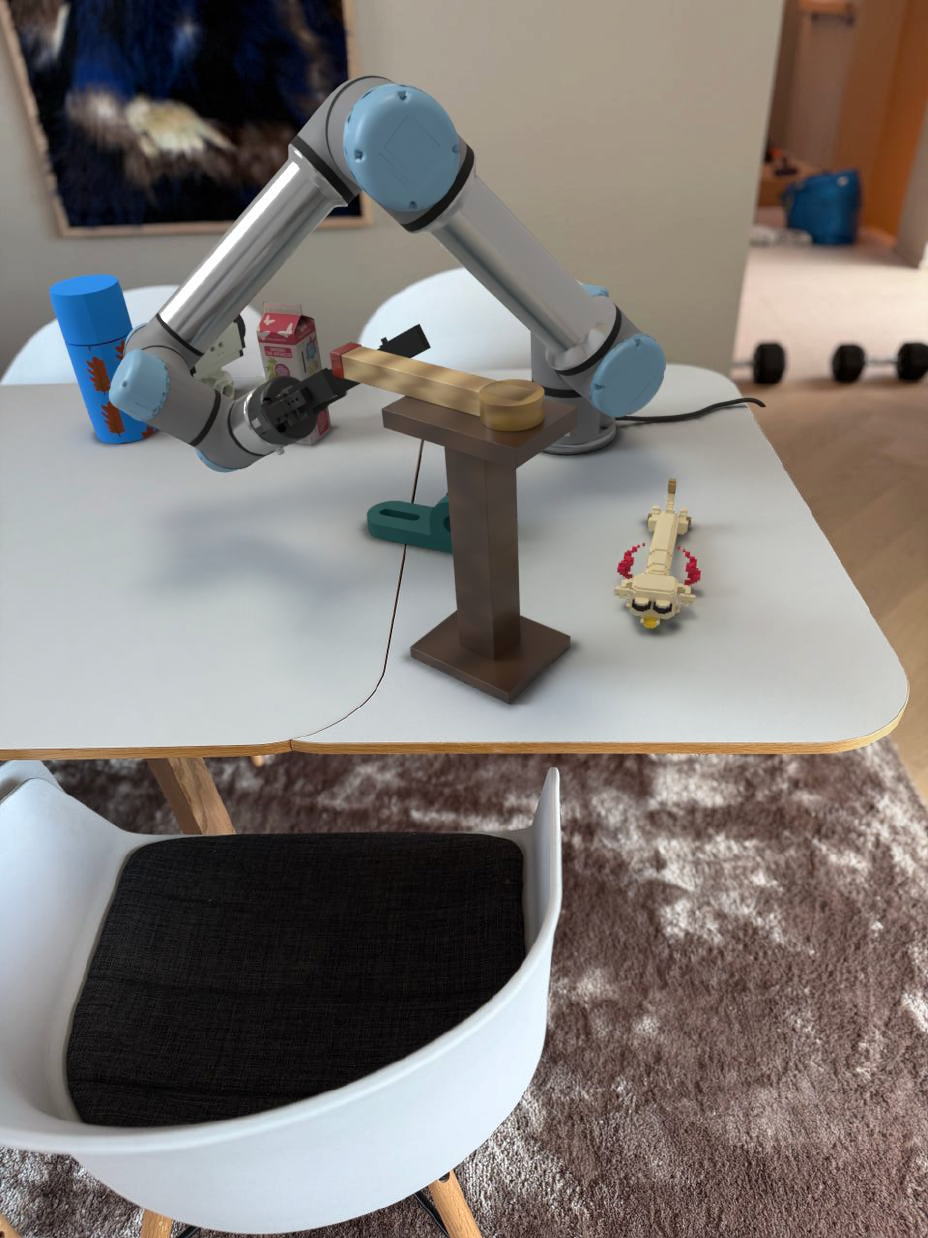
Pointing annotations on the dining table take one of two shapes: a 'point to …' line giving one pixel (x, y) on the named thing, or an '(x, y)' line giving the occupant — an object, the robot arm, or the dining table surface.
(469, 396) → the pointer
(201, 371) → the ball valve
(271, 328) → the juice carton
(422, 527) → the bracket
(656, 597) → the cream toy animal figure
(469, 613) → the stand
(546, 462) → the dining table surface
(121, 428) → the thermos
